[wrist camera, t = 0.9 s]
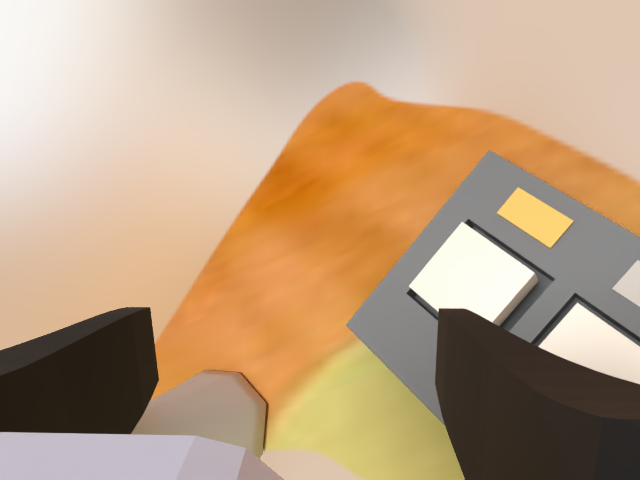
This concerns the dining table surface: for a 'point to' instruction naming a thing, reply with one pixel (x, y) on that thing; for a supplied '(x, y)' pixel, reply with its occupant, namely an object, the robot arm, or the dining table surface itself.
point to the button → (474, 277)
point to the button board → (526, 247)
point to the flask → (209, 411)
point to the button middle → (594, 345)
